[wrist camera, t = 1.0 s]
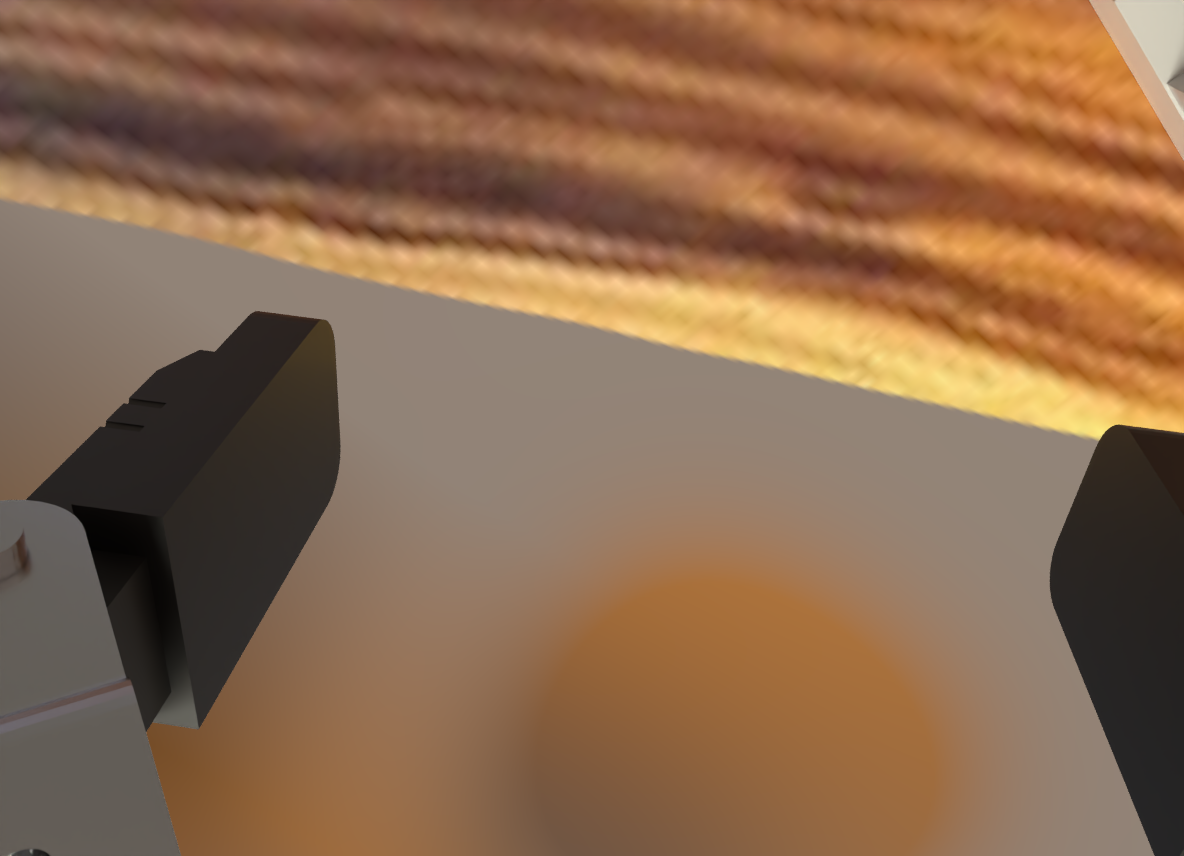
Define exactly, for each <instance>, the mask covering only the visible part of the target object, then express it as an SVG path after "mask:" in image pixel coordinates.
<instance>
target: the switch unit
mask: <svg viewBox="0 0 1184 856" xmlns="http://www.w3.org/2000/svg"><path fill="white" fill-rule="evenodd" d="M1089 1H1090V3H1091V5H1092V6H1093V8H1094V10H1095V11H1096V13H1097V15H1098V16H1099V18H1100V20H1101V22H1102V23H1103V25H1104V27H1105V28H1106V30H1107V32H1108V33H1109V35H1110V37H1111V38H1112V40H1113V42H1114V44H1115V45H1116V47H1117V49H1118V50H1119V52H1120V54H1121V55H1122V57H1123V59H1124V60H1125V62H1126V64H1127V65H1128V67H1129V69H1130V71H1131V72H1132V74H1133V76H1134V77H1135V79H1136V81H1137V82H1138V84H1139V86H1140V87H1141V89H1142V91H1143V93H1144V94H1145V96H1146V98H1147V99H1148V101H1149V103H1150V104H1151V106H1152V108H1153V109H1154V111H1155V113H1156V115H1157V116H1158V118H1159V120H1160V121H1161V123H1162V125H1163V126H1164V128H1165V130H1166V131H1167V133H1168V135H1169V136H1170V138H1171V140H1172V142H1173V143H1174V145H1175V147H1176V148H1177V150H1178V152H1179V153H1180V155H1181V157H1182V158H1183V160H1184V0H1089Z"/></svg>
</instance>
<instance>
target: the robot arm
mask: <svg viewBox="0 0 1184 856" xmlns="http://www.w3.org/2000/svg"><path fill="white" fill-rule="evenodd" d="M335 355H336V354H335V340H334V334H333V331H332V328H331V325H330V324H329V323H328V321H326V320H321V319H314V318H306V317H298V316H291V315H283V314H276V313H268V312H260V311H256V312H254V313H252V314H250V315H249V316H248V317H247V318H246V319H245V321H244V322H242V324H241V325H240V326H239V327H238V328H237V329H236V330H235V331H234V332H233V333H232V334H231V335H230V336H229V337H228V338H227V339H226V341H225V342H224V343H223V344H222V345H221V346H220V347H219V348H218V349H217V350H216V351H215V352H211V351H203V350H199V351H197V352H195V353H192V354H190V355H188V356H186V357H184V358H182V359H180V360H178V361H176V362H174V363H172V364H170V365H168V366H166V367H163V368H162V369H159V370H157V371H156V372H155V373H154V374H153V375H152V376H151V377H150V378H149V379H148V380H147V381H146V382H145V383H144V384H143V385H142V386H141V387H140V388H139V389H138V390H137V391H136V392H135V393H134V394H133V395H132V396H131V397H130V398H129V403H128V404H123V405H122V406H120V408H119V409H117V410H116V411H115V412H114V414H112V416H110V417H109V418H108V419H107V421H106V426H105V427H99V428H98V429H97V430H96V431H95V432H94V433H93V434H92V435H91V436H90V437H89V438H88V439H87V440H86V441H85V442H84V443H83V444H82V445H81V446H80V447H79V448H78V449H77V450H76V451H75V452H74V453H73V454H72V455H71V456H70V457H69V458H68V459H67V460H66V461H65V462H64V463H63V464H62V465H61V466H60V467H59V468H58V469H57V470H56V471H55V472H54V473H53V474H52V475H51V476H50V477H49V478H48V479H46V480H45V481H44V482H43V484H41V486H39V487H38V488H37V489H36V490H35V491H34V492H33V493H32V494H31V495H30V496H29V497H28V498H27V499H26V500H5V501H0V856H181V854H180V851H179V847H178V844H177V840H176V837H175V833H174V830H173V826H172V823H171V819H170V815H169V812H168V808H167V805H166V802H165V798H164V794H163V791H162V787H161V784H160V780H159V777H158V773H157V770H156V766H155V763H154V759H153V756H152V752H151V748H150V745H149V741H148V738H147V734H146V732H147V729H148V728H149V727H150V725H151V724H152V722H155V723H161V724H168V725H174V726H181V727H187V728H194V729H199V728H200V726H201V725H202V723H203V721H204V719H205V718H206V716H207V714H208V712H209V710H210V709H211V707H212V705H213V704H214V702H215V700H216V698H217V697H218V695H219V693H220V691H221V690H222V687H223V686H224V685H225V683H226V681H227V679H228V677H229V676H230V674H231V672H232V670H233V669H234V667H235V665H236V664H237V662H238V660H239V658H240V657H241V655H242V653H243V651H244V650H245V648H246V646H247V644H248V643H249V641H250V639H251V638H252V636H253V634H254V632H255V631H256V628H257V627H258V625H259V623H260V622H261V620H262V618H263V617H264V615H265V613H266V611H267V610H268V608H269V606H270V604H271V603H272V601H273V599H274V597H275V596H276V594H277V592H278V591H279V589H280V587H281V585H282V583H283V582H284V580H285V578H286V577H287V575H288V573H289V571H290V570H291V568H292V566H293V564H294V563H295V561H296V559H297V557H298V556H299V554H300V552H301V550H302V549H303V547H304V545H305V544H306V542H307V540H308V538H309V536H310V535H311V533H312V531H313V530H314V528H315V526H316V524H317V522H318V521H319V519H320V517H321V516H322V514H323V512H324V510H325V509H326V507H327V505H328V503H329V501H330V499H331V497H332V494H333V491H334V488H335V484H336V480H337V475H338V470H339V463H340V429H339V412H338V411H339V410H338V393H337V374H336V356H335ZM1050 592H1051V598H1052V603H1053V606H1054V609H1055V611H1056V614H1057V616H1058V619H1059V621H1060V624H1061V626H1062V629H1063V631H1064V633H1065V636H1066V638H1067V641H1068V643H1069V646H1070V648H1071V651H1072V653H1073V656H1074V658H1075V661H1076V663H1077V665H1078V668H1079V670H1080V673H1081V675H1082V678H1083V680H1084V683H1085V685H1086V688H1087V690H1088V693H1089V695H1090V698H1091V700H1092V703H1093V705H1094V707H1095V710H1096V712H1097V715H1098V717H1099V720H1100V722H1101V725H1102V727H1103V730H1104V732H1105V735H1106V737H1107V739H1108V742H1109V744H1110V747H1111V749H1112V752H1113V754H1114V757H1115V759H1116V762H1117V764H1118V767H1119V769H1120V771H1121V774H1122V776H1123V779H1124V781H1125V784H1126V786H1127V789H1128V791H1129V794H1130V796H1131V799H1132V801H1133V804H1134V806H1135V809H1136V811H1137V813H1138V816H1139V818H1140V821H1141V823H1142V826H1143V828H1144V831H1145V833H1146V836H1147V838H1148V841H1149V843H1150V845H1151V848H1152V850H1153V853H1154V855H1155V856H1184V433H1179V432H1172V431H1164V430H1156V429H1148V428H1141V427H1133V426H1125V425H1114V426H1112V427H1110V428H1109V429H1108V430H1107V431H1106V432H1105V433H1104V434H1103V436H1102V437H1101V439H1100V440H1099V442H1098V444H1097V447H1096V449H1095V451H1094V454H1093V456H1092V458H1091V461H1090V463H1089V466H1088V468H1087V471H1086V473H1085V476H1084V478H1083V480H1082V483H1081V485H1080V487H1079V490H1078V492H1077V495H1076V497H1075V499H1074V502H1073V504H1072V507H1071V509H1070V512H1069V514H1068V516H1067V519H1066V521H1065V524H1064V526H1063V529H1062V531H1061V533H1060V536H1059V538H1058V541H1057V543H1056V546H1055V549H1054V552H1053V556H1052V562H1051V569H1050Z"/></svg>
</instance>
